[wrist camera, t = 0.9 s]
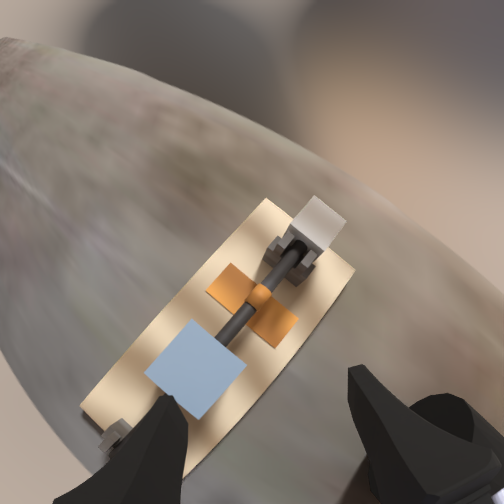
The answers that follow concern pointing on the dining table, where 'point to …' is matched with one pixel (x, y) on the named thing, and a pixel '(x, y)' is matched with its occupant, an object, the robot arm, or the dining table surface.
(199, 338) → the light blue block
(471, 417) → the black cylinder
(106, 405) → the cord board
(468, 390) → the dining table surface
